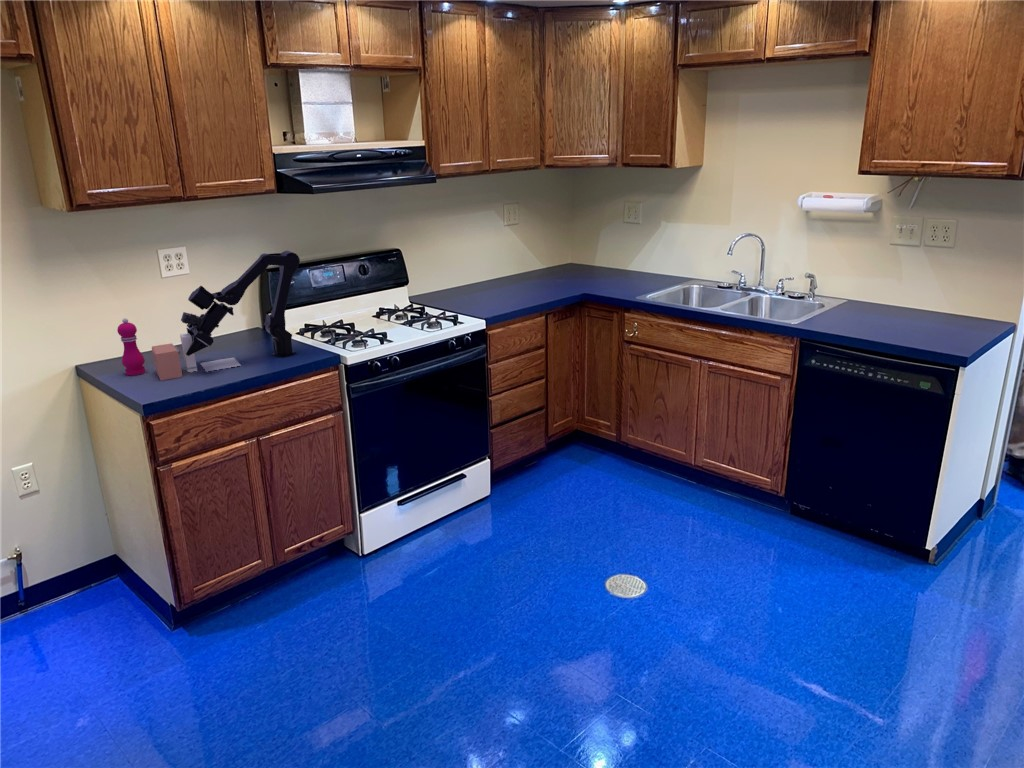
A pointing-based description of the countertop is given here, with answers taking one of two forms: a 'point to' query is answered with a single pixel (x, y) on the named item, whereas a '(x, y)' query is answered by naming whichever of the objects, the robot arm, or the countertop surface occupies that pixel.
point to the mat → (220, 364)
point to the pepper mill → (130, 349)
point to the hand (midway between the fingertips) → (184, 352)
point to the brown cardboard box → (167, 361)
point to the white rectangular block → (189, 360)
